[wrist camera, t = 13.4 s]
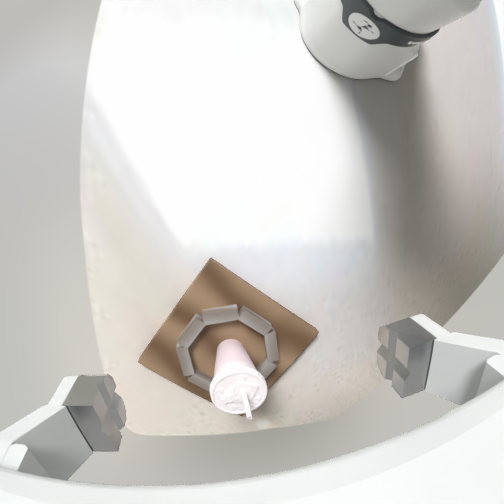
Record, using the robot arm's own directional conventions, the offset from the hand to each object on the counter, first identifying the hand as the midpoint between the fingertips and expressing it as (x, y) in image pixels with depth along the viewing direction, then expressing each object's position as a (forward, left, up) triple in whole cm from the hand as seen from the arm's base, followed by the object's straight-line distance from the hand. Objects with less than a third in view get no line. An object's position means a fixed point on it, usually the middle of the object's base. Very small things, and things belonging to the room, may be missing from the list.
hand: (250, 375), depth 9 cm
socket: (+13, +11, -31) cm, 35 cm away
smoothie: (+13, +11, -30) cm, 34 cm away
